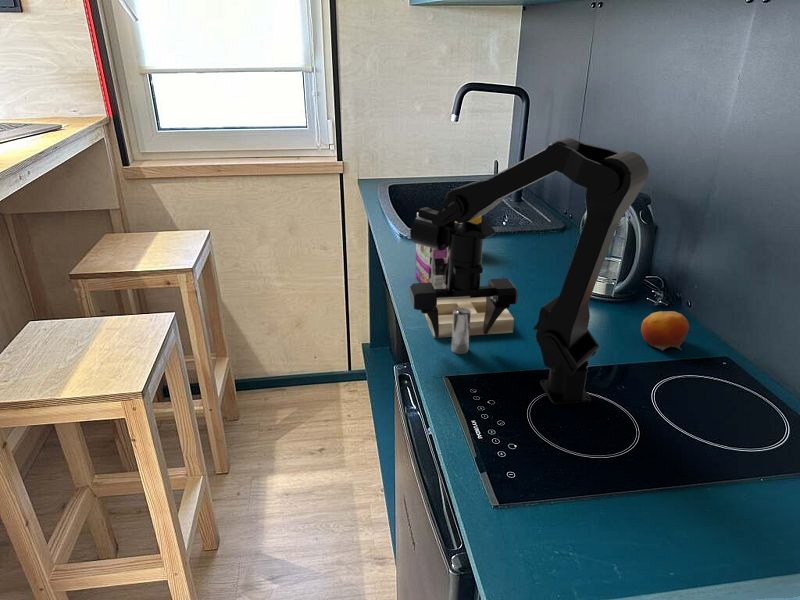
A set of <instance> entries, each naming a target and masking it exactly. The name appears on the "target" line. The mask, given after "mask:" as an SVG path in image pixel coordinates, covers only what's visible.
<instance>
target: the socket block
mask: <svg viewBox="0 0 800 600" xmlns="http://www.w3.org/2000/svg"><path fill="white" fill-rule="evenodd" d="M436 307H437V309H438V320H439V336H438V338H450V337H451V338H452V323H453V310H454V309H456V308H466V309H468V310H470V311H471V316H470V331H469V336H479V335H480V336H481V335H485V334H484V333H483V324H484V317H485V311H486V297H477V298H460V299H443V300H437V305H436ZM424 316H425V319H426V323H427V325H428V327H429V329H430V331H431V335H432V337H433V339H438V338H436V336H435V334H434V330H433V327H432V324H431V321H430V318H429V316H428V314H424ZM514 324H515V319H514V317H513V315H512V314H511V313H510V311H509V310H508V308H506V309H504V311H503V312H502V313H501V314H500V315H499V317H498V318H497V319H496V321H495V322H494V324H493V325H492V327H491V328H490V330H489V332H488V333H487V334H486V335H497V334H509V333H510V334H511V333H514Z"/></svg>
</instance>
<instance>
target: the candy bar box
mask: <svg viewBox="0 0 800 600" xmlns="http://www.w3.org/2000/svg"><path fill="white" fill-rule="evenodd" d="M417 216H418V212H416V217H417ZM415 244H416V243H415ZM448 257H449V246H448V247H447V248H446V249H445V250H443V251H440V250H436V249H433V248H430V247H426V246H423V245H419V244H416V245H415V278H416V279H417V281H418V283H430V282H431V283H432V285H433V287H434V289H445V288H448V285H445V283H444V279H442V275H438V276H435V275H433V268H432V265H433V259H434V258H443V259H444V263H446V262H447V261H448Z"/></svg>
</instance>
